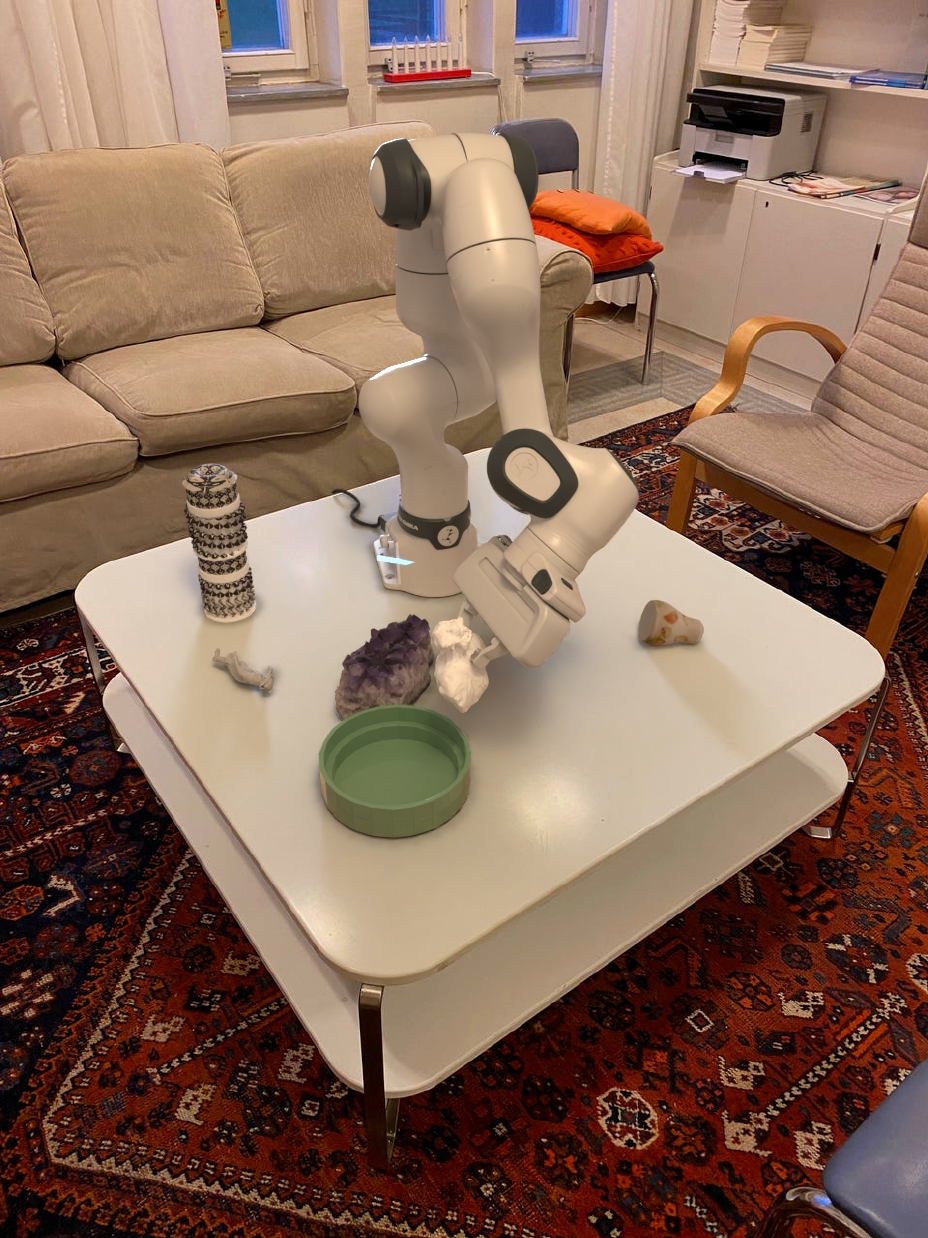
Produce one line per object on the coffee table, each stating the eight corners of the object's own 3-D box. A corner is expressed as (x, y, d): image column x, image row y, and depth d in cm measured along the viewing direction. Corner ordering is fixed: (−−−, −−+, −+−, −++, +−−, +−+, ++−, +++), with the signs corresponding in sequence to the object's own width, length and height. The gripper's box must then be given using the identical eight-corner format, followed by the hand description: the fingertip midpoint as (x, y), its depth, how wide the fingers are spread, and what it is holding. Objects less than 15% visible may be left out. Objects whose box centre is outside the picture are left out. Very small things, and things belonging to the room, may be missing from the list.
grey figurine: (246, 659, 147) (297, 666, 140) (237, 689, 146) (287, 698, 139) (207, 643, 141) (258, 651, 134) (196, 675, 140) (247, 684, 133)
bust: (471, 670, 128) (421, 609, 124) (516, 652, 124) (466, 589, 119) (446, 732, 119) (391, 669, 115) (493, 715, 115) (438, 649, 111)
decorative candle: (219, 631, 152) (195, 490, 137) (191, 606, 157) (166, 469, 143) (269, 610, 156) (251, 472, 142) (240, 586, 162) (220, 452, 148)
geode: (379, 641, 150) (385, 589, 144) (446, 665, 147) (456, 613, 141) (319, 717, 133) (323, 661, 128) (394, 745, 131) (402, 690, 125)
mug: (710, 655, 148) (690, 616, 141) (650, 669, 152) (628, 632, 145) (706, 618, 153) (687, 579, 146) (648, 633, 156) (626, 596, 150)
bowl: (304, 757, 128) (301, 727, 125) (436, 720, 134) (436, 690, 131) (349, 860, 113) (346, 828, 110) (494, 812, 120) (495, 781, 117)
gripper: (486, 517, 122) (417, 596, 125) (562, 597, 107) (482, 687, 110) (515, 540, 127) (448, 616, 129) (593, 621, 111) (515, 706, 114)
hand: (464, 649), depth 119 cm, fingers closed on bust, 5 cm apart
